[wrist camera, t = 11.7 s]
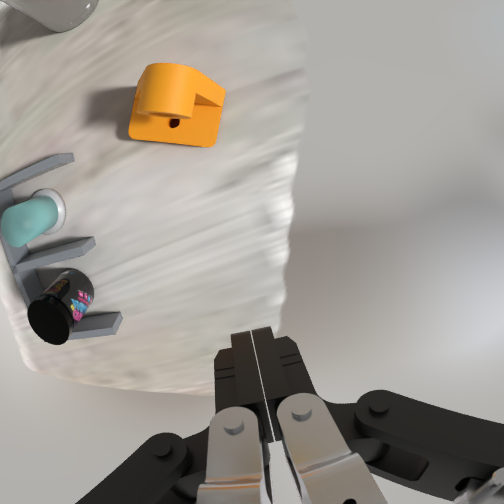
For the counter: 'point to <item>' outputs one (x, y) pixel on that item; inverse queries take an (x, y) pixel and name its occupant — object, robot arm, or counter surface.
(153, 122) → the bracket
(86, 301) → the supplement container
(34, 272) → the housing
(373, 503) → the robot arm
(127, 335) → the counter surface
